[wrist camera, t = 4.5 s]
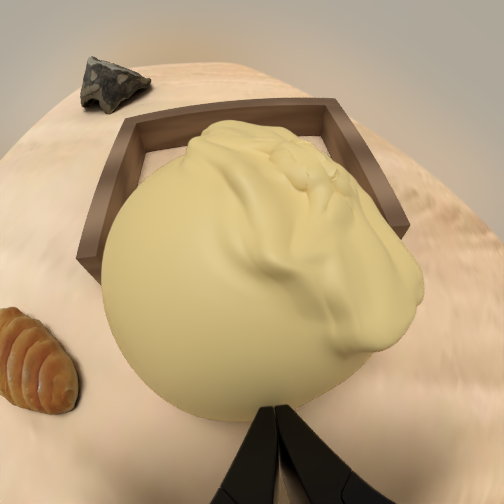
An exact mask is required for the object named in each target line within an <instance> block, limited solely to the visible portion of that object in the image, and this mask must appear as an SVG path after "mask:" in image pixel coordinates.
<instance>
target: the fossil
mask: <svg viewBox="0 0 504 504" xmlns="http://www.w3.org/2000/svg"><path fill="white" fill-rule="evenodd" d="M150 83H151V79H150V78H147V79H146V78H144V77H142V76H141V75H140V74H139V73H137V72H135V71H132V70H130V69H127V68H124V67H121V66H119V65H116V64H114V63H110V62H107V61H102V60H98V59H97V58H95V57H93V56H91V57H90V58H89V59H88V61H87V66H86V71H85V74H84V78H83V85H82V89H81V93H80V94H81V96H80V98H81V105H82V107H85V108H86V107H88V106H90V105H91V104H93V103H95V102H96V101H98V100H99V104H100V107H101V108H102V109H103V110H104V111H105V113H107V114H111V113H112V112H113V111H114V109H115V108H116V107H117V106H118V105H119V103H120V102H121V100H125V99H127V98H129V97H130V96H132V94H133V93H134V92H135V91H136V90H138V89H140V88H145V89H147V88H148V86H149V85H150Z"/></svg>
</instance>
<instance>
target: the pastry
mask: <svg viewBox="0 0 504 504" xmlns="http://www.w3.org/2000/svg"><path fill="white" fill-rule="evenodd" d="M0 395H2V396H3V397H5V398H6V399H7V400H8V401H9V402H10V403H12V404H13V405H15V406H19V407H21V408H26V409H29V410H33V411H38V412H40V413H46V414H50V415H51V414H59V413H65V412H69V411H70V410H72V409H73V408H74V405H75V401H76V398H77V395H78V378H77V372H76V370H75V368H74V365H73V362H72V360H71V358H70V357H69V356H68V355H67V354H66V353H65V351H64V350H63V349H62V348H61V347H60V345H59V343H58V341H57V340H56V339H55V338H54V337H53V336H52V335H51V334H50V333H49V332H48V331H47V330H46V328H45V327H44V326H43V324H42V323H41V322H40V321H39V320H36V319H32V318H30V317H29V316H27V315H25V314H23V313H22V312H21V311H20V310H19V309H18V308H16V307H9V308H3V309H0Z"/></svg>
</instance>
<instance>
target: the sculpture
mask: <svg viewBox="0 0 504 504" xmlns="http://www.w3.org/2000/svg"><path fill="white" fill-rule="evenodd" d="M101 286H102V297H103V303H104V308H105V313H106V316H107V320H108V323H109V326H110V329H111V331H112V334H113V336H114V338H115V341H116V343H117V345H118V347H119V349H120V350H121V352H122V354H123V355H124V357H125V359H126V360H127V362H128V363H129V365H130V366H131V367H132V369H133V370H134V371H135V373H136V374H137V375H138V376H139V377H140V378H141V380H142V381H143V382H144V383H145V384H146V385H147V386H148V387H149V388H150V389H152V390H153V391H154V392H155V393H156V394H157V395H159V396H160V397H161V398H163V399H164V400H166V401H167V402H169V403H170V404H172V405H173V406H175V407H177V408H179V409H181V410H183V411H185V412H187V413H190V414H193V415H195V416H199V417H202V418H206V419H211V420H217V421H227V422H243V421H253V420H254V418H255V416H256V414H257V411H258V409H259V408H260V407H265V406H273V408H275V406H276V405H284V404H288V405H289V406H290V407H291V408H292V409H295V408H297V407H299V406H301V405H303V404H305V403H307V402H309V401H311V400H313V399H314V398H316V397H318V396H320V395H322V394H324V393H325V392H327V391H329V390H331V389H332V388H334V387H335V386H337V385H339V384H340V383H342V382H343V381H345V380H346V379H347V378H349V377H350V376H351V375H353V374H354V373H355V372H356V371H357V370H358V369H359V368H361V367H362V366H363V365H364V364H365V362H366V361H367V360H368V359H369V358H370V357H371V355H372V354H373V353H374V352H380V351H383V350H386V349H388V348H390V347H391V346H393V345H394V344H395V343H397V342H398V341H399V340H400V339H401V338H402V336H403V335H404V334H405V333H406V331H407V330H408V328H409V326H410V325H411V323H412V321H413V319H414V316H415V314H416V307H417V306H418V305H419V304H420V303H421V302H422V300H423V297H424V281H423V274H422V271H421V269H420V266H419V264H418V263H417V261H416V260H415V258H414V257H413V255H412V254H411V253H410V252H409V250H408V249H407V248H406V246H405V245H404V244H403V242H402V241H401V240H400V239H399V237H398V236H397V235H396V233H395V232H394V231H393V229H392V228H391V227H390V226H389V224H388V223H387V222H386V220H385V219H384V218H383V216H382V215H381V213H380V212H379V210H378V208H377V207H376V205H375V203H374V202H373V200H372V198H371V197H370V196H369V195H368V194H367V193H366V192H365V191H364V190H363V189H362V188H361V186H360V185H359V184H358V182H357V181H356V180H355V178H354V177H353V176H352V175H351V174H350V173H349V172H348V171H347V170H346V169H345V168H343V167H342V166H341V165H340V164H338V163H336V162H334V161H333V160H332V159H331V158H330V157H329V156H328V155H327V154H325V153H324V152H322V151H320V150H318V149H317V148H316V147H315V146H314V145H313V144H312V143H311V142H309V141H305V140H302V139H300V138H299V137H298V136H296V135H295V134H293V133H292V132H291V131H289V130H288V129H286V128H283V127H271V126H260V125H255V124H250V123H246V122H242V121H235V120H224V121H220V122H216V123H214V124H212V125H210V126H209V127H208V128H207V129H205V130H204V131H203V132H202V134H201V136H198V137H194V138H192V139H191V140H190V141H189V143H188V146H187V149H186V154H185V155H183V156H180V157H178V158H176V159H174V160H173V161H171V162H169V163H167V164H166V165H164V166H163V167H161V168H160V169H158V170H157V171H156V172H154V173H153V174H152V175H150V176H149V177H148V178H147V179H146V180H145V181H144V182H142V183H141V184H140V185H139V186H138V187H137V188H136V190H135V191H134V192H133V193H132V194H131V195H130V196H129V198H128V199H127V200H126V202H125V203H124V205H123V206H122V208H121V209H120V211H119V212H118V214H117V216H116V218H115V220H114V222H113V224H112V227H111V229H110V232H109V234H108V237H107V241H106V244H105V249H104V254H103V260H102V271H101ZM274 413H275V410H274Z"/></svg>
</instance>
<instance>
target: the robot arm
mask: <svg viewBox="0 0 504 504" xmlns="http://www.w3.org/2000/svg"><path fill="white" fill-rule="evenodd" d="M274 410H275V413H274ZM279 461H280V468H281V472H282V476H283V480H284V483H285V487H286V490H287V493H288V497H289V500H290V504H396V503H395V502H393V501H391V500H390V499H388V498H387V497H385V496H384V495H382V494H381V493H379V492H378V491H377V490H375V489H374V488H373V487H371V486H370V485H369V484H368V483H367V482H365V481H364V480H363V479H362V478H361V477H360V476H359V475H358V474H356V473H355V472H354V471H352V469H351V468H350V467H349V466H348V465H347V464H346V463H345V462H344V461H343V460H342V459H341V458H340V457H339V456H338V455H336V454H335V453H334V452H333V451H332V450H331V449H330V448H329V447H328V446H327V445H326V444H325V443H324V442H323V440H322V439H321V438H320V437H319V436H318V435H317V434H316V433H315V432H314V431H313V430H312V429H311V428H310V427H309V426H308V425H307V424H306V423H305V422H304V421H303V420H302V419H301V418H300V416H299V415H298V414H297V413H296V412H295V411H294V410H293V409H292V408H291V407H290V406H289V405H288V404H284V405H276V406H275V408H273V406H265V407H260V408H259V409H258V411H257V414H256V416H255V418H254V420H253V422H252V424H251V426H250V428H249V430H248V432H247V434H246V437H245V439H244V441H243V443H242V445H241V447H240V449H239V451H238V453H237V455H236V457H235V458H234V460H233V462H232V464H231V466H230V468H229V470H228V472H227V474H226V476H225V478H224V479H223V481H222V483H221V485H220V488H218V490H217V492H216V494H215V496H214V497H213V499H212V501H211V502H210V504H278V490H279Z"/></svg>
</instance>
